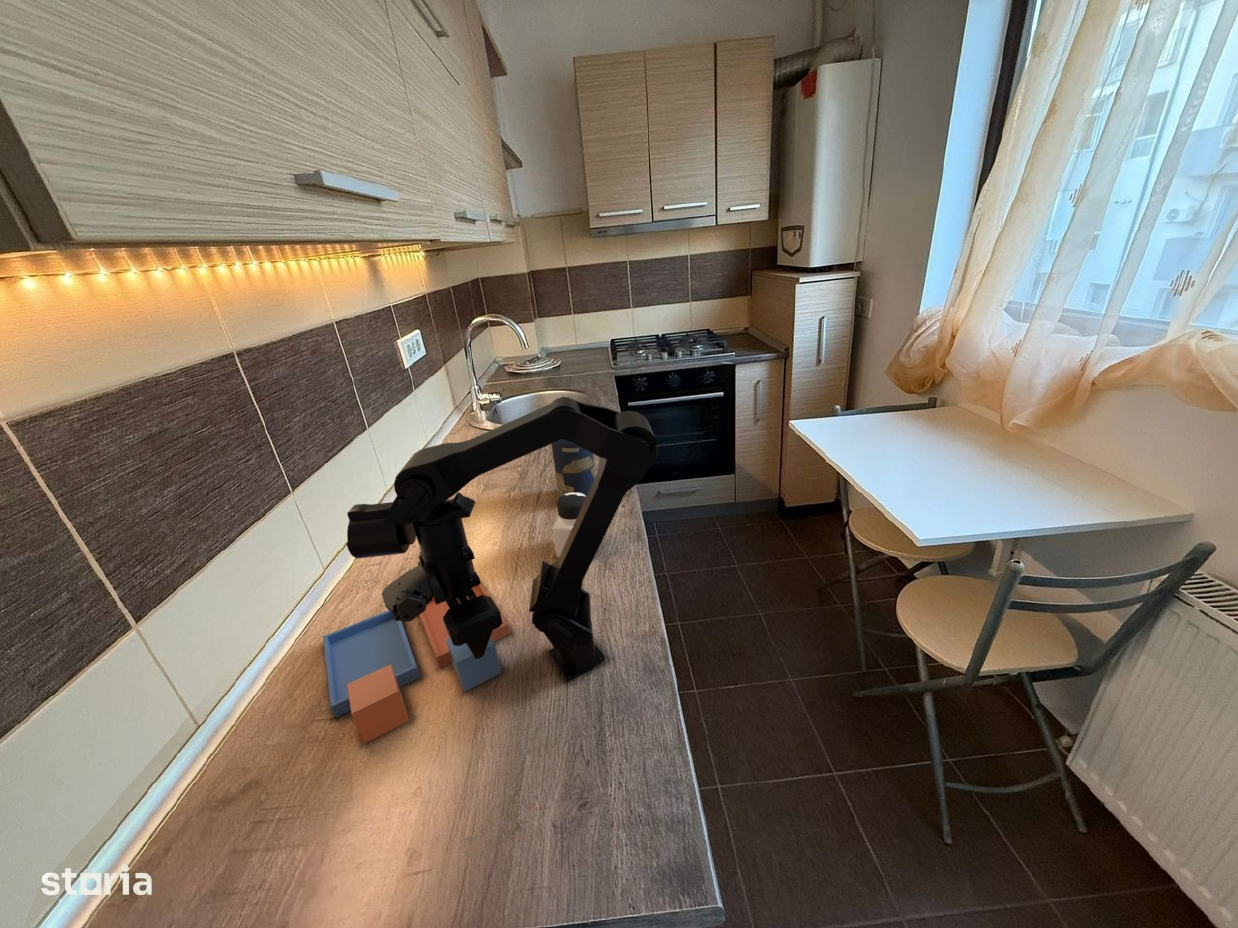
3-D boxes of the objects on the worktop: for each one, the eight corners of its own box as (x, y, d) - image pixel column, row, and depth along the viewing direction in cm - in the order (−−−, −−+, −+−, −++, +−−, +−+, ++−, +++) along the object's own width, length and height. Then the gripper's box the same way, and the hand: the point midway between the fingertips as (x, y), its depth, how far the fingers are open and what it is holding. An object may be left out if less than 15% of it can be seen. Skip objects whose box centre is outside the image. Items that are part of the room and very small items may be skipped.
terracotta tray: (509, 634, 77) (507, 624, 76) (439, 667, 71) (436, 657, 70) (478, 583, 89) (475, 574, 88) (416, 609, 84) (413, 599, 83)
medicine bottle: (590, 560, 93) (584, 506, 88) (556, 558, 95) (548, 505, 90) (599, 539, 100) (593, 489, 95) (566, 538, 101) (559, 488, 96)
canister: (597, 486, 122) (590, 420, 115) (597, 504, 114) (590, 434, 106) (560, 489, 122) (551, 423, 115) (557, 507, 114) (547, 437, 106)
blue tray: (420, 677, 70) (416, 666, 69) (335, 717, 65) (330, 707, 64) (399, 616, 83) (396, 606, 82) (327, 645, 77) (322, 636, 76)
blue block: (501, 672, 70) (494, 644, 67) (464, 691, 67) (456, 663, 65) (489, 649, 74) (482, 622, 72) (453, 666, 71) (445, 639, 69)
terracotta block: (409, 720, 64) (398, 691, 61) (364, 743, 61) (351, 713, 59) (401, 692, 68) (390, 664, 66) (359, 712, 65) (346, 684, 63)
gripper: (367, 537, 65) (398, 624, 71) (390, 612, 50) (426, 713, 57) (449, 510, 70) (470, 594, 77) (491, 570, 56) (514, 668, 62)
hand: (469, 637), depth 68 cm, fingers open, 9 cm apart
